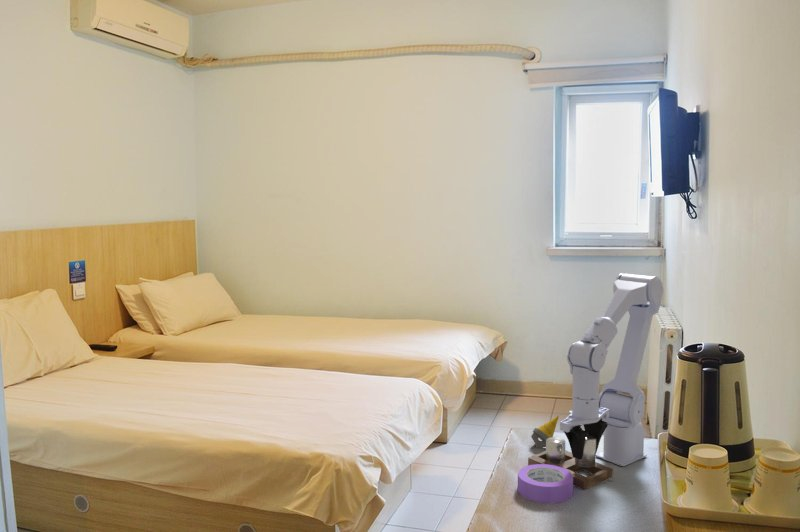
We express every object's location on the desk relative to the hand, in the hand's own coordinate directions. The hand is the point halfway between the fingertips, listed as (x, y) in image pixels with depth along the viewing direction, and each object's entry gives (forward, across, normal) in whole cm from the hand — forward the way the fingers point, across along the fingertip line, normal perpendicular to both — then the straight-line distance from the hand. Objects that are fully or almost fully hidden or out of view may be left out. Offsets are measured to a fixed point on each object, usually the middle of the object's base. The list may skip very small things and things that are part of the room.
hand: (584, 455), depth 157 cm
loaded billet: (+5, 0, -8) cm, 10 cm away
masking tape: (+6, +12, -1) cm, 13 cm away
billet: (+2, 0, 0) cm, 2 cm away
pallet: (+5, 0, -4) cm, 7 cm away
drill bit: (+6, -8, -19) cm, 21 cm away
